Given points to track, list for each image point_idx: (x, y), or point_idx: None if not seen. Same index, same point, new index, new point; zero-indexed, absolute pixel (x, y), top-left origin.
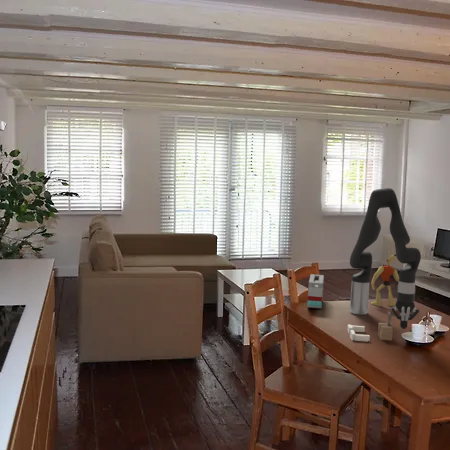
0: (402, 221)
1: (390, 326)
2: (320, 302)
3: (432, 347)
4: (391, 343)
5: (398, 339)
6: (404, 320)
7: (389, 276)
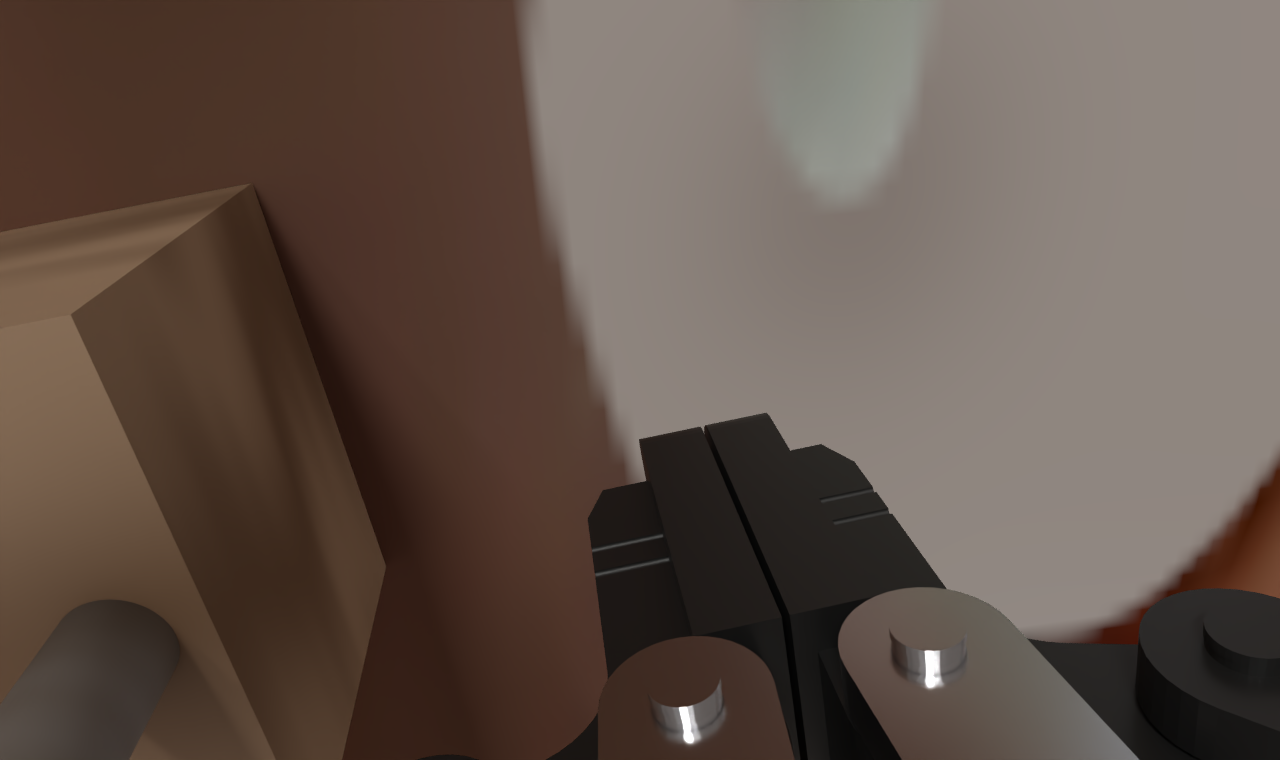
0: None
1: (206, 755)
2: None
3: None
4: (394, 756)
5: (544, 422)
6: (827, 721)
7: None
